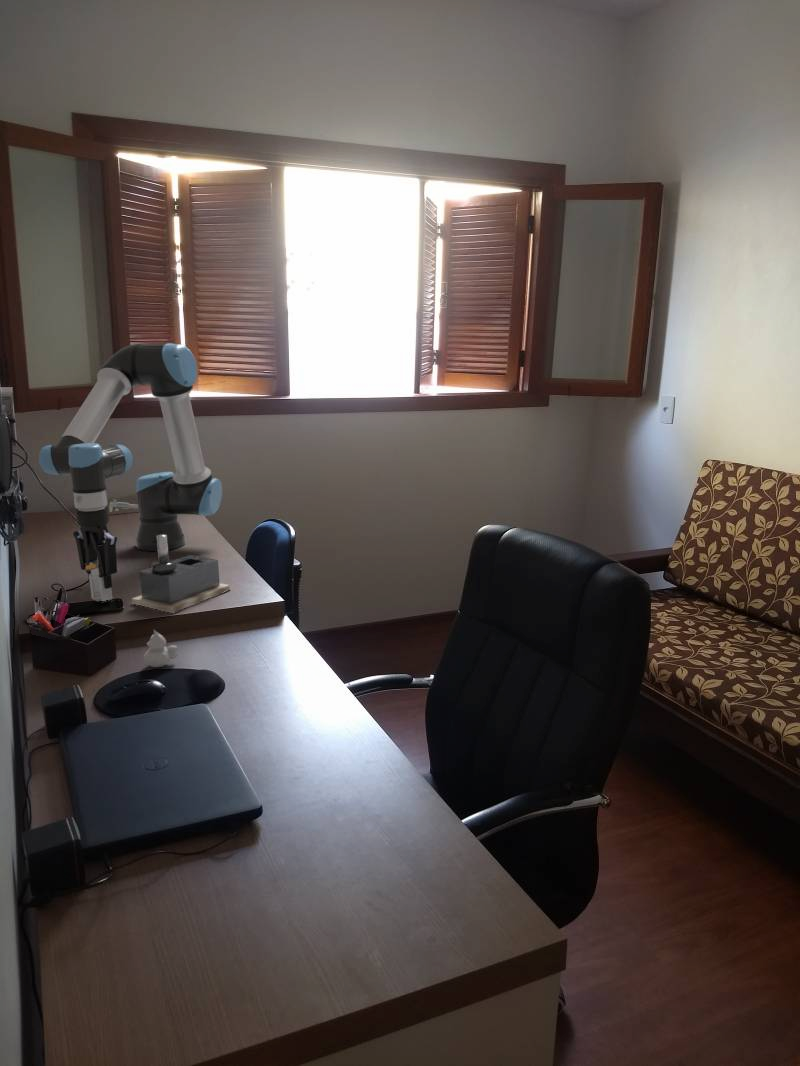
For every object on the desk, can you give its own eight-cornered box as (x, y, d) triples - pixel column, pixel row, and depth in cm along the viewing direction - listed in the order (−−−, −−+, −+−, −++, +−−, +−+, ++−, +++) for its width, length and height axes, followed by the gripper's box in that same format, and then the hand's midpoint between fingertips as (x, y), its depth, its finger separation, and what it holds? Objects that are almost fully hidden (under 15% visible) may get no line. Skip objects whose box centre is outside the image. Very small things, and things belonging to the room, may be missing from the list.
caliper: (110, 516, 288) (108, 499, 287) (109, 515, 289) (108, 499, 288) (165, 510, 297) (164, 494, 296) (165, 509, 298) (163, 493, 297)
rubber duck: (144, 662, 157) (140, 626, 155) (177, 657, 159) (174, 621, 157) (145, 673, 152) (142, 635, 150) (180, 667, 154) (177, 630, 152)
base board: (191, 582, 208) (190, 577, 208) (229, 590, 201) (229, 585, 201) (132, 604, 191) (131, 598, 191) (172, 613, 185) (171, 607, 184)
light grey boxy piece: (111, 594, 196) (106, 557, 193) (119, 596, 195) (114, 558, 192) (88, 602, 190) (82, 564, 188) (96, 605, 189) (91, 566, 186)
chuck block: (191, 579, 206) (187, 521, 202) (219, 585, 201) (215, 526, 197) (142, 598, 191) (136, 536, 187) (170, 604, 186) (165, 541, 182)
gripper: (56, 507, 187) (68, 598, 193) (100, 514, 179) (111, 609, 185) (82, 501, 193) (93, 589, 199) (126, 508, 185) (136, 599, 191)
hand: (102, 598), depth 192 cm, fingers closed on light grey boxy piece, 3 cm apart
